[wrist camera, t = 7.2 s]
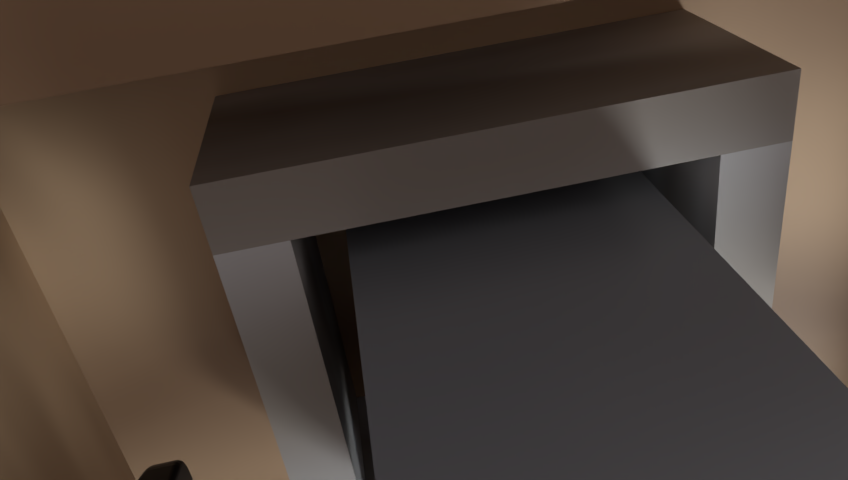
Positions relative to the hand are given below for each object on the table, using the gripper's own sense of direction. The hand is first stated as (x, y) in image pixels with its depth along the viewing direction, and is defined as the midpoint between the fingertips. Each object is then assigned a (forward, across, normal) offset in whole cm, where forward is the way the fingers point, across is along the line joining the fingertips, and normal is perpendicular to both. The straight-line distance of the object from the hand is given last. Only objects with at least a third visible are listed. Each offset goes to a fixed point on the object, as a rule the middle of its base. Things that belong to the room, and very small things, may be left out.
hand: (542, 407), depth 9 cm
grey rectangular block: (+4, 0, 0) cm, 4 cm away
